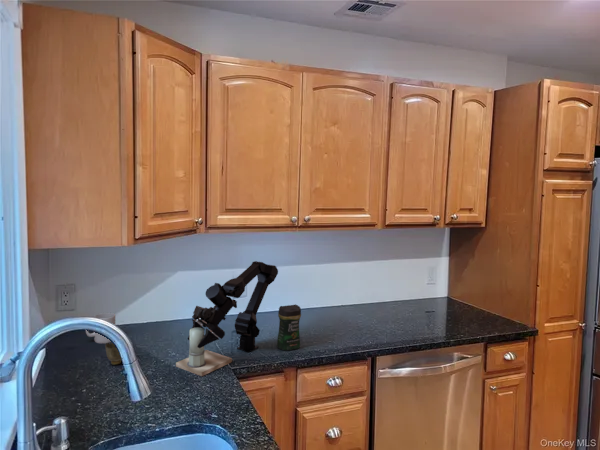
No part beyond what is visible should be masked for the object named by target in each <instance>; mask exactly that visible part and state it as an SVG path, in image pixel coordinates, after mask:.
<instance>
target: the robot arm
mask: <svg viewBox="0 0 600 450" xmlns="http://www.w3.org/2000/svg"><path fill="white" fill-rule="evenodd" d="M277 267H278V266H276V265H272V264H266V263H264V262H262V261H257V260H255V261H252V262H251V264H250V265H249V266H248V267H247V268H246V269H245V270H244V271H243V272H241V273H240V274H239V275H238V276H237V277H234V278H231V279H229V280H227V281H226V282H224V284H223V285H221V284H220V283H217V282H214V285H211V286H209V287H208V288H207V289H206V291H205V297H206V298H207V299H208V300H209V301H210V303H212V304H213V305H214V306H213V307H212V306H210V307H202V306H200V305H199V306H198V305H196V306H195V307H194V311H192V316H191V318H192V319H191V321H192V327H191V329H192V328H203V329H204V331H205V333H204V337H203V338H202V340H201V341H200V343H199V344H198V346H197V347H198V348H201V347H203V346H204V347H205V346H206V345H208V344H211V343H212V342H215V341H218V340H220V339H221V340H223V339H224V337H225V336H226V331H224V330H223V329H222V328H221V327H220V326H219V324H220V323H221V322H222V321H226V319H227V317H226V315H228V314H229V312H230V311H231V310H232V308H235V309H237V308H238V301H237V300H235V299H234V298H236V299H238V298H240V297H242V295H243V294H244V292H245V289H246V286H247V285H249V283H250V282H252V281H253V280H254V279H255V278H257V282H256V284H255V287H254V289H253V292H252V294H251V296H250V299H249V301H248V303H247V305H246V307H245V309H244V310H243V312H241V311H239V312H238V314H237V317H236V319H235V320H234V321H235V322H234V329H235V333H236V335H239V346H237V347H236V349H237V350H239V351H243V352H245V353H250V352H252V351H254V350H256V349H258V348H259V347H258V345H256V338H258V336H260V335H259V334H260V331H261V330H260V329H259V327H258V326H257V324H258V321H257V320H258V319H257V313H258V310H259V309H260V306H261V304H262V301H263V299H264V296H265V294H266V292H267V289H268V287H269V285H271V284H272V283H273V282H275V280H276V278H277V275H278V274H279V269H278V268H277ZM232 298H233V299H232ZM187 340H188V341H189V336H188V337H187Z"/></svg>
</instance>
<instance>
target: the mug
mask: <svg viewBox="0 0 600 450" xmlns="http://www.w3.org/2000/svg"><path fill="white" fill-rule="evenodd" d="M94 317H96V318H100V319H103V320H106V321H108V322H111V323H113V324H115V325H116V314H115V313H114V312H113V313H112V312H101V313H98V314H95V315H94ZM85 334H86V336H87V337H88V338H94V339H93V340H94V342H95V343H96V344H106V343H108V342H109V343H112V342H111V341H110V340H109V339H107V338H106V337H104V336H102V335H100V334H98V333H95V332H94V331H93V332H92V333H90V331H89V330H88V331H87V330H86V329H85Z"/></svg>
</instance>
